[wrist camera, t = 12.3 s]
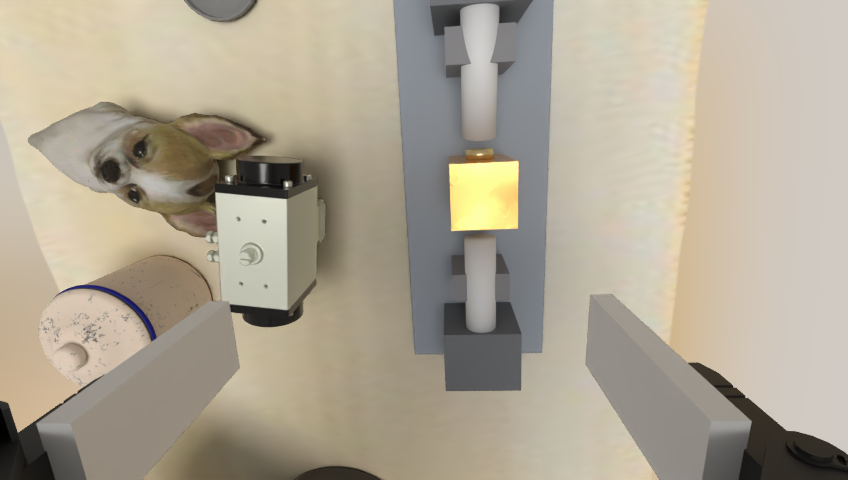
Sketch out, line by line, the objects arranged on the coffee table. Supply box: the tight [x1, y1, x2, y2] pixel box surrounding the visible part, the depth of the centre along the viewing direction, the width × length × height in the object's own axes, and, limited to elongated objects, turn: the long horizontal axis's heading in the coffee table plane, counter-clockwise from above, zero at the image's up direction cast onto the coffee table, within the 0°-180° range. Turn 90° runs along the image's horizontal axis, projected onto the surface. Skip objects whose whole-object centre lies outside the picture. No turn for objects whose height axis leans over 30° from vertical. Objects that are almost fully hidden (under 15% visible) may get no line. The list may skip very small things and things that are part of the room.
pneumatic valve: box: [206, 156, 325, 327], centre depth 31 cm, size 6×12×12 cm, turn 175°
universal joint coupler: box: [449, 148, 518, 231], centre depth 30 cm, size 6×4×8 cm
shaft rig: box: [394, 0, 554, 391], centre depth 31 cm, size 32×12×9 cm, turn 3°
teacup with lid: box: [39, 256, 212, 387], centre depth 35 cm, size 12×9×12 cm
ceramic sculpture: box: [28, 102, 266, 237], centre depth 33 cm, size 11×9×15 cm
